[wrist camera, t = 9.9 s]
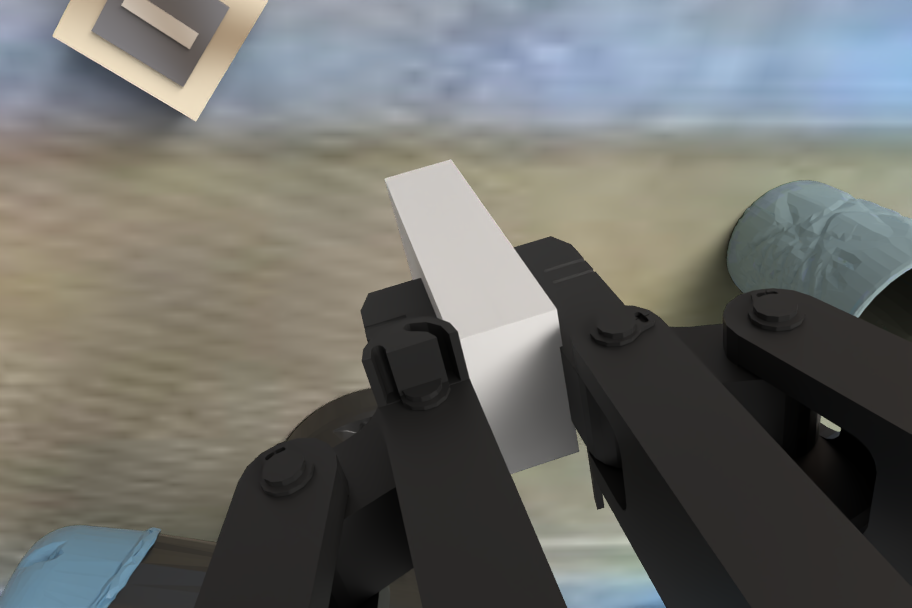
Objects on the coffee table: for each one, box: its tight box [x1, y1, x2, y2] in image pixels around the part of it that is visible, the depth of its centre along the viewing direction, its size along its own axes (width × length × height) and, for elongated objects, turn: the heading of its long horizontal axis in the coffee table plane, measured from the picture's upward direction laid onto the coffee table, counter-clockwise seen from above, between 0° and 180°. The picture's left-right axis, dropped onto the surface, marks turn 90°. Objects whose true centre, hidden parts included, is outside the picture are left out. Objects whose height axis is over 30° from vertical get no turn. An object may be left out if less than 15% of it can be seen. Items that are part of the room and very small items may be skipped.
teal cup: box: [727, 180, 912, 342], centre depth 42 cm, size 10×10×12 cm
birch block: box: [53, 0, 268, 121], centre depth 30 cm, size 6×6×6 cm
